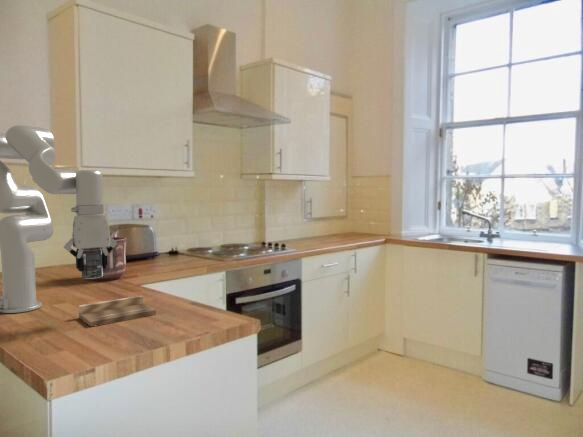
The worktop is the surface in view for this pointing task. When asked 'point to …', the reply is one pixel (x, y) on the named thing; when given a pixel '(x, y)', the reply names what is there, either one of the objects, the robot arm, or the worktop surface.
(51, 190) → the robot arm
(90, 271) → the pill bottle
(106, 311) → the board
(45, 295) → the worktop surface
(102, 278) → the pottery
